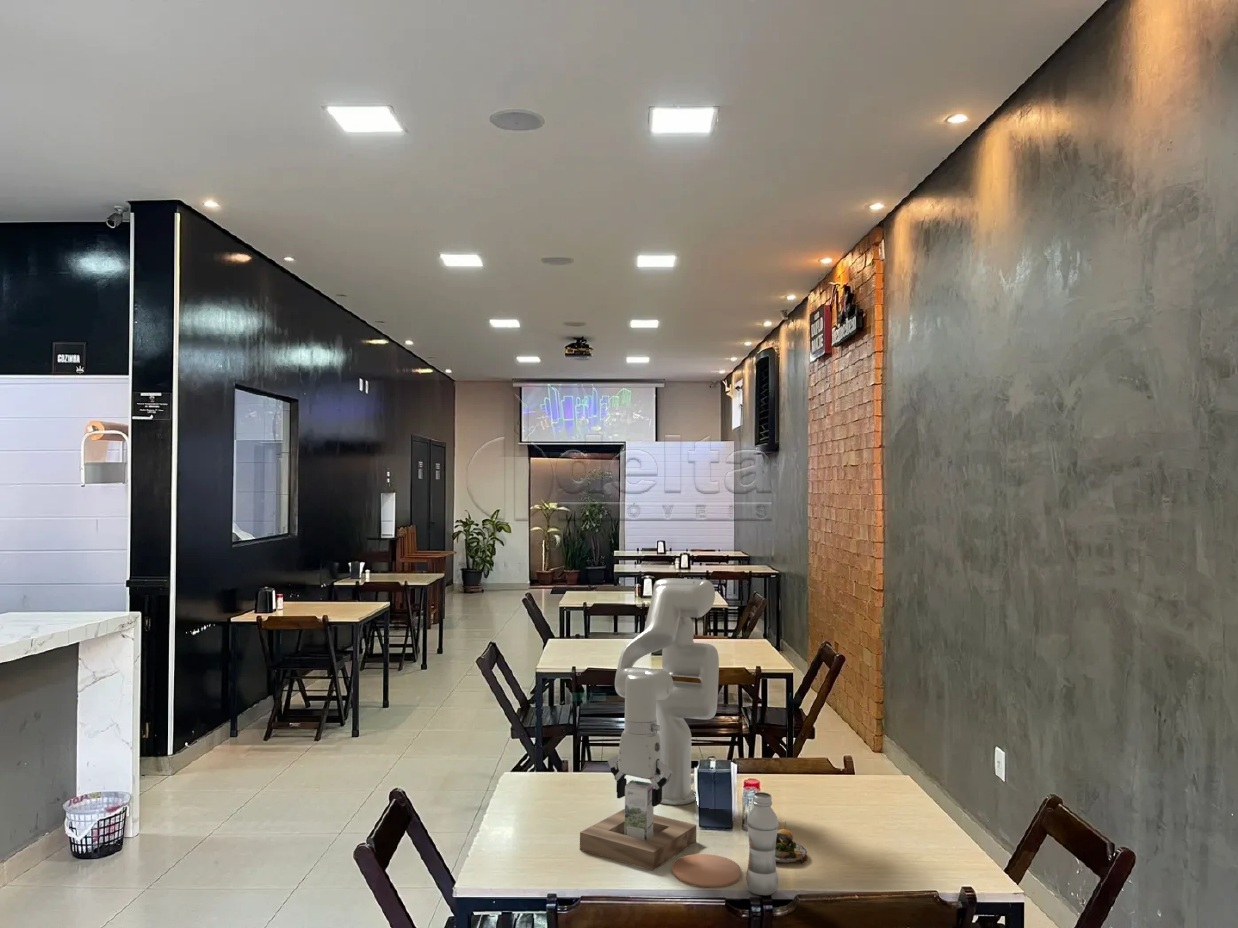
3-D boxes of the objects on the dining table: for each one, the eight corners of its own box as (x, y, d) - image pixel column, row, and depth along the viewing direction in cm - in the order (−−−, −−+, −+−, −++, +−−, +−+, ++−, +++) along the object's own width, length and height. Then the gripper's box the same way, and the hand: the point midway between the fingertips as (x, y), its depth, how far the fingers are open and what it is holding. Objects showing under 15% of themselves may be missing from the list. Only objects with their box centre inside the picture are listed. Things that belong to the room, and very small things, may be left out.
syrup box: (654, 842, 203) (654, 780, 204) (646, 852, 198) (647, 788, 199) (631, 839, 205) (632, 778, 206) (623, 848, 200) (624, 785, 200)
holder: (626, 823, 215) (626, 807, 216) (696, 841, 204) (696, 824, 205) (579, 849, 199) (579, 832, 199) (653, 870, 188) (653, 852, 188)
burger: (744, 854, 198) (744, 821, 198) (778, 842, 205) (779, 811, 205) (783, 872, 188) (783, 838, 189) (818, 859, 196) (818, 826, 196)
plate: (692, 853, 198) (692, 848, 198) (752, 868, 189) (752, 864, 189) (659, 875, 185) (659, 871, 185) (721, 893, 177) (721, 888, 177)
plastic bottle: (753, 882, 182) (754, 787, 184) (783, 891, 179) (783, 793, 180) (740, 893, 177) (740, 795, 178) (770, 902, 173) (770, 802, 174)
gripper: (679, 729, 201) (678, 803, 200) (618, 719, 211) (616, 790, 209) (663, 735, 195) (662, 812, 194) (601, 724, 204) (599, 797, 203)
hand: (638, 800), depth 202 cm, fingers open, 9 cm apart
